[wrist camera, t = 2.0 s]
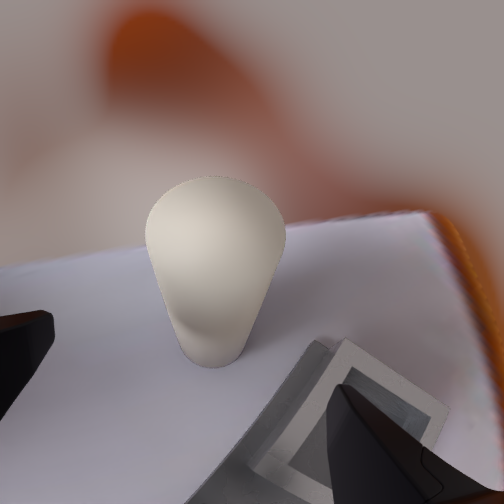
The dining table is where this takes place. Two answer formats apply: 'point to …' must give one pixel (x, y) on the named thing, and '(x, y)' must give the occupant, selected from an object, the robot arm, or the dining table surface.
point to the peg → (214, 262)
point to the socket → (314, 429)
